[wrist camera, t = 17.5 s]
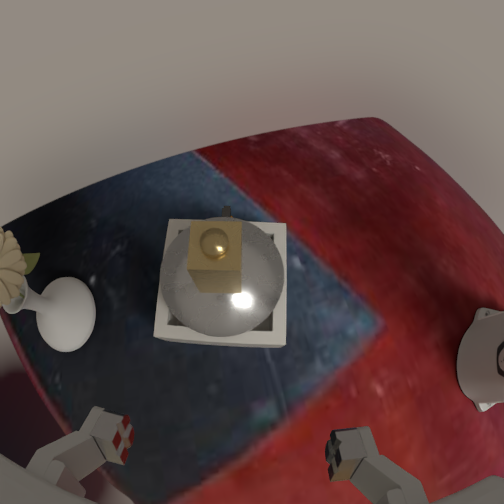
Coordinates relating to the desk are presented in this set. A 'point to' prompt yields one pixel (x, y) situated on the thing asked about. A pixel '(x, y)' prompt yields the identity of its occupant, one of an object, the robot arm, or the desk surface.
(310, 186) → the desk surface
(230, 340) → the base
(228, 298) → the scale pan
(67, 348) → the flower in vase
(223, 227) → the brass weight
